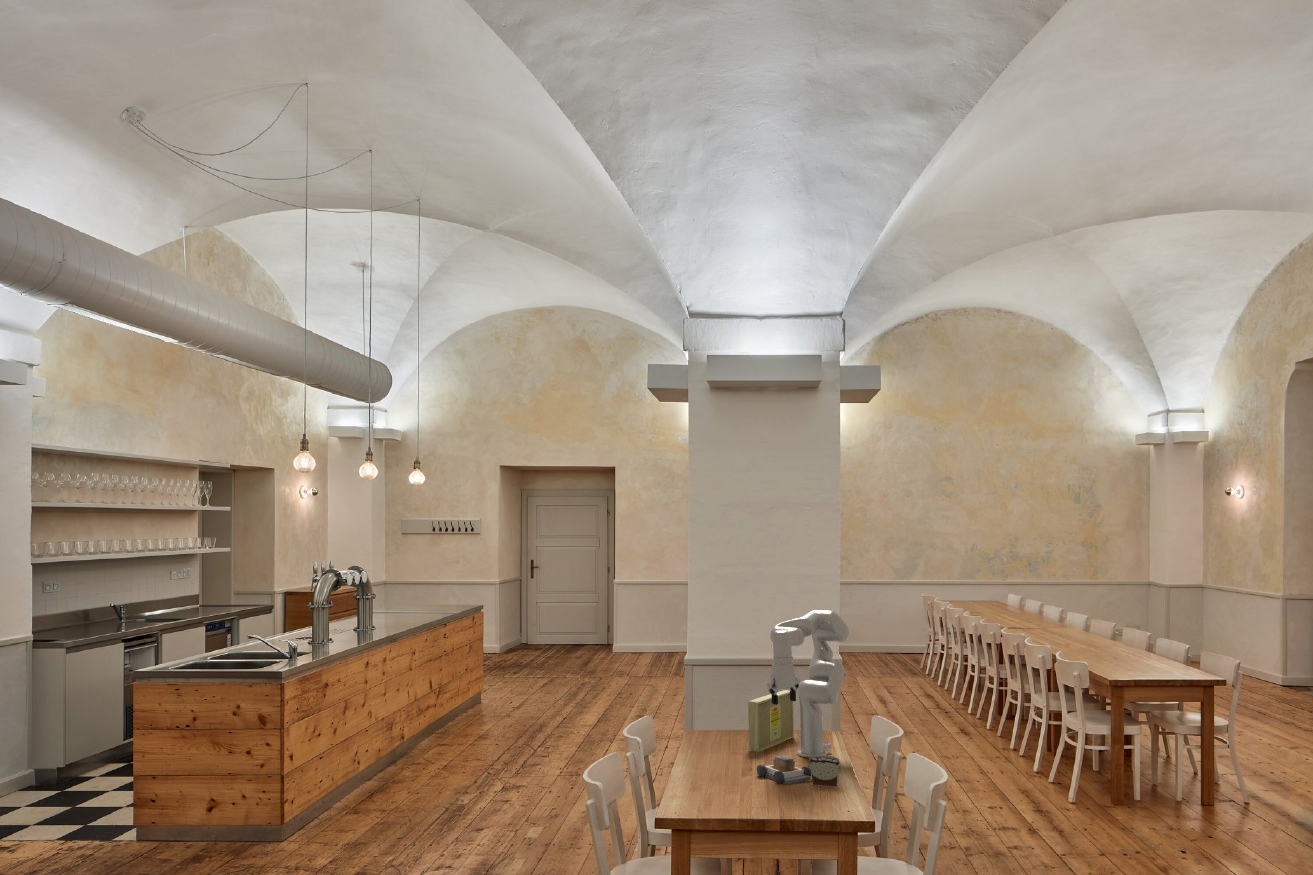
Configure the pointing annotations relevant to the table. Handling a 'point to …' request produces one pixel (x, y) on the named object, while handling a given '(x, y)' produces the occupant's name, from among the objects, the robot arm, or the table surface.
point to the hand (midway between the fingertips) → (784, 702)
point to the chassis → (785, 774)
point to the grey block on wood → (784, 763)
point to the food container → (824, 770)
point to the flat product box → (770, 721)
